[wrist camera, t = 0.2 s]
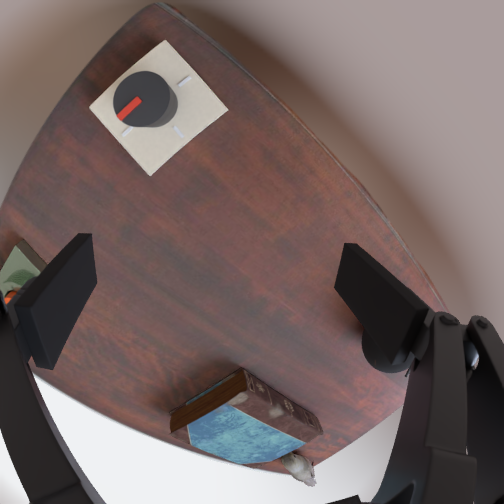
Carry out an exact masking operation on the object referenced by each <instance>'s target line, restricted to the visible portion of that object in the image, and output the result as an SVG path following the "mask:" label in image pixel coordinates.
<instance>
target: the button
mask: <svg viewBox="0 0 504 504" xmlns="http://www.w3.org/2000/svg"><path fill="white" fill-rule="evenodd" d="M16 293H17V292H16V291H11V292H10V293H9V294H8V295H7V296H6V297H5V298H4V300H5V303H6V304H7V303H8V302H9V301H10V300H11V298H12V297H13V296H14V295H16Z"/></svg>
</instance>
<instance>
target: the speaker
mask: <svg viewBox="0 0 504 504" xmlns="http://www.w3.org/2000/svg"><path fill="white" fill-rule="evenodd" d="M362 349H363V353H364V356H365V358H366V359H367V361H368V362H369V363H370V365H372V366H373V367H374V368H375V369H377V370H379V371H382V372H385V373H397V372H401V371H404V370H406V369H408V368H409V367H410V365H411V363H412V361H413V359H414V357H415V356H414V354H413V353H412V352H411V351H410V353H409V355H408V357H407V359H406V361H405V363H400V364H395V365H391V364H390V362H389V361H388V360H387V358H386V357H385V356H384V354H383V353H382V351H381V350H380V349H379V347H378V346H377V344H376V343H375V342H374V340H373V339H372V338H371V336H370V335H369V334H368V332H367V331H366V329H364V332H363V336H362Z"/></svg>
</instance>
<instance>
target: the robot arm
mask: <svg viewBox="0 0 504 504" xmlns="http://www.w3.org/2000/svg"><path fill="white" fill-rule="evenodd" d="M96 284H97V276H96V269H95V261H94V252H93V242H92V234H87V233H78V234H77V235H76V236H75V237H74V238H73V239H72V240H71V241H70V242H69V243H68V244H67V245H66V246H65V247H64V248H63V249H62V250H61V251H60V253H59V254H58V255H57V256H56V257H55V258H54V259H53V260H52V261H51V262H50V263H49V264H48V265H47V266H46V267H45V269H44V270H43V271H42V272H41V273H40V274H39V275H38V276H34V277H33V278H31V279H30V280H28V281H26V282H25V284H24V285H23V286H22V287H21V289H19V290H18V291H17V293H16V295H14V296H13V297H12V298H11V300H10V301H9V302H8V303H7V304H6V303H5V300H4V297H3V293H2V291H1V290H0V429H1V433H2V436H3V439H4V442H5V444H6V447H7V450H8V452H9V455H10V458H11V460H12V463H13V465H14V467H15V470H16V472H17V474H18V477H19V479H20V481H21V483H22V485H23V488H24V490H25V492H26V494H27V496H28V498H29V501H30V503H29V504H106V503H105V502H104V500H103V499H102V498H101V496H100V495H99V494H98V492H97V491H96V489H95V488H94V487H93V485H92V484H91V483H90V481H89V480H88V478H87V477H86V475H85V474H84V472H83V471H82V469H81V468H80V466H79V464H78V463H77V462H76V460H75V458H74V456H73V455H72V453H71V451H70V450H69V448H68V446H67V444H66V443H65V441H64V439H63V437H62V436H61V434H60V432H59V430H58V428H57V426H56V424H55V422H54V420H53V418H52V416H51V415H50V412H49V410H48V408H47V406H46V404H45V402H44V400H43V397H42V395H41V393H40V390H39V388H38V386H37V383H36V381H35V379H34V376H33V373H32V371H31V368H30V366H29V364H28V361H29V359H30V357H31V355H32V357H33V360H34V362H35V364H36V367H40V368H45V369H50V370H53V369H54V367H55V364H56V362H57V360H58V358H59V356H60V353H61V351H62V349H63V347H64V345H65V343H66V341H67V339H68V337H69V335H70V333H71V331H72V329H73V327H74V325H75V323H76V321H77V319H78V317H79V315H80V313H81V311H82V310H83V308H84V306H85V304H86V302H87V300H88V298H89V297H90V295H91V293H92V291H93V290H94V288H95V286H96ZM334 288H335V290H336V291H337V292H338V294H339V295H340V296H341V297H342V299H343V300H344V301H345V303H346V304H347V305H348V307H349V308H350V309H351V311H352V312H353V313H354V315H355V316H356V317H357V319H358V320H359V321H360V323H361V324H362V325H363V327H364V328H365V329H366V331H367V332H368V334H369V335H370V336H371V338H372V339H373V340H374V342H375V343H376V344H377V346H378V347H379V349H380V350H381V351H382V353H383V354H384V356H385V357H386V358H387V360H388V361H389V362H390V364H391V365H395V364H400V363H405V361H406V359H407V357H408V355H409V353H410V351H411V352H412V353H413V354H414V356H415V357H414V359H413V361H412V363H411V365H410V367H409V369H408V371H407V373H406V375H405V377H407V376H408V374H410V375H409V381H408V386H407V392H406V397H405V401H404V406H403V411H402V415H401V419H400V423H399V428H398V431H397V435H396V439H395V443H394V446H393V449H392V453H391V456H390V460H389V463H388V466H387V469H386V472H385V475H384V478H383V481H382V483H381V486H380V488H379V491H378V492H377V494H376V495H375V497H374V498H373V499H372V501H371V502H361V501H360V499H359V496H358V495H355V496H352V497H349V498H345V499H342V500H339V501H335V502H331V503H327V504H473V502H474V504H504V344H503V342H502V340H501V339H500V337H499V335H498V333H497V332H496V330H495V328H494V327H493V325H492V324H491V323H490V322H489V321H488V320H487V319H486V318H484V317H482V316H472V318H471V320H470V322H469V324H468V325H462V324H460V322H459V320H458V319H457V318H456V317H454V316H453V315H451V314H449V313H446V312H436V313H435V312H434V311H433V310H432V309H431V308H430V307H429V306H428V305H427V304H426V303H425V302H424V301H423V300H421V299H420V298H419V297H418V296H417V295H416V294H415V293H414V292H413V291H412V290H411V289H409V288H408V287H406V286H405V285H404V284H403V283H401V282H400V281H399V280H398V279H397V278H396V277H395V276H394V275H392V274H391V273H390V272H389V271H388V270H387V269H386V268H384V267H383V266H382V265H381V264H380V263H379V262H378V261H376V260H375V259H374V258H373V257H372V256H371V255H369V254H368V253H367V252H366V251H365V250H363V249H362V248H361V247H360V246H359V245H358V244H355V243H344V248H343V252H342V256H341V261H340V265H339V269H338V274H337V278H336V282H335V286H334ZM478 357H479V362H478V365H477V367H476V369H475V367H474V364H475V363H476V361H477V359H478ZM466 446H467V452H468V455H467V454H466Z"/></svg>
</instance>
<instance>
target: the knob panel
mask: <svg viewBox="0 0 504 504" xmlns="http://www.w3.org/2000/svg"><path fill="white" fill-rule="evenodd" d="M140 71H150V72H154V73H156V74H158V75H160V76H161V77H162V78H163V79H164V80H165V81H166V82H167V84H168V85H169V86H170V87H171V89H172V90H173V91H174V93H175V94H176V96H177V100H178V108H177V111H176V114H175V115H174V117H173V118H172V120H170V121H169V122H168V123H167V124H165V125H163V126H160V127H155V128H150V127H132V126H129V125H126V124H124V123H123V122H122V121H120V120H119V119H118V118H117V115H116V114H115V111H114V108H113V97H114V93H115V91H116V89H117V87H118V85H119V84H120V83H121V82H122V81H123V80H124V79H125V78H126V77H127V76H129V75H131V74H133V73H136V72H140ZM89 108H90V109H91V111H92V112H93V113H94V114H95V115H96V116H97V117H98V119H99V120H100V121H101V122H102V123H103V124H104V125H105V127H106V128H107V129H108V130H109V131H110V132H111V133H112V135H113V136H114V137H115V138H116V139H117V140H118V141H119V142H120V144H121V145H122V146H123V147H124V148H125V149H126V150H127V151H128V153H129V154H130V155H131V156H132V157H133V158H134V159H135V160H136V162H137V163H138V164H139V165H140V166H141V167H142V168H143V169H144V170H145V172H146V173H147V174H148V175H149V176H151V175H152V174H153V173H154V172H155V171H156V170H157V169H158V168H159V167H161V166H162V165H163V164H164V163H165V162H166V161H167V160H168V159H169V158H171V157H172V156H173V155H174V154H175V153H176V152H177V151H179V150H180V149H181V148H182V147H183V146H184V145H186V144H187V143H188V142H189V141H190V140H191V139H193V138H194V137H195V136H196V135H197V134H199V133H200V132H201V131H202V130H204V129H205V128H206V127H207V126H209V125H210V124H211V123H212V122H214V121H215V120H216V119H217V118H219V117H220V116H221V115H223V114H224V113H225V112H226V111H228V109H227V108H226V106H225V105H224V104H223V103H222V102H221V101H220V99H219V98H218V97H217V96H216V95H215V94H214V92H213V91H212V90H211V89H210V88H209V87H208V86H207V84H206V83H205V82H204V81H203V80H202V79H201V78H200V77H199V75H198V74H197V73H196V72H195V71H194V70H193V69H192V68H191V67H190V65H189V64H188V63H187V62H186V61H185V60H184V59H183V58H182V57H181V56H180V55H179V54H178V53H177V51H176V50H175V49H174V48H173V47H172V46H171V45H170V44H169V43H168V42H167V41H166V40H164V41H163V42H161V43H160V44H159V45H157V46H156V47H155V48H154V49H152V50H151V51H150V52H149V53H147V54H146V55H145V56H144V57H142V58H141V59H140V60H139V61H138V62H136V63H135V64H134V65H133V66H132V67H131V68H129V69H128V70H127V71H126V72H125V73H124V74H123V75H122V76H120V77H119V78H118V79H117V80H116V81H115V82H114V83H113V84H112V85H111V86H110V87H109V88H108V89H107V90H106V91H105V92H103V93H102V94H101V95H100V96H99V97H98V98H97V99H96V100H95V102H94V103H93V104H92V105H91V106H90V107H89Z"/></svg>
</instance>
